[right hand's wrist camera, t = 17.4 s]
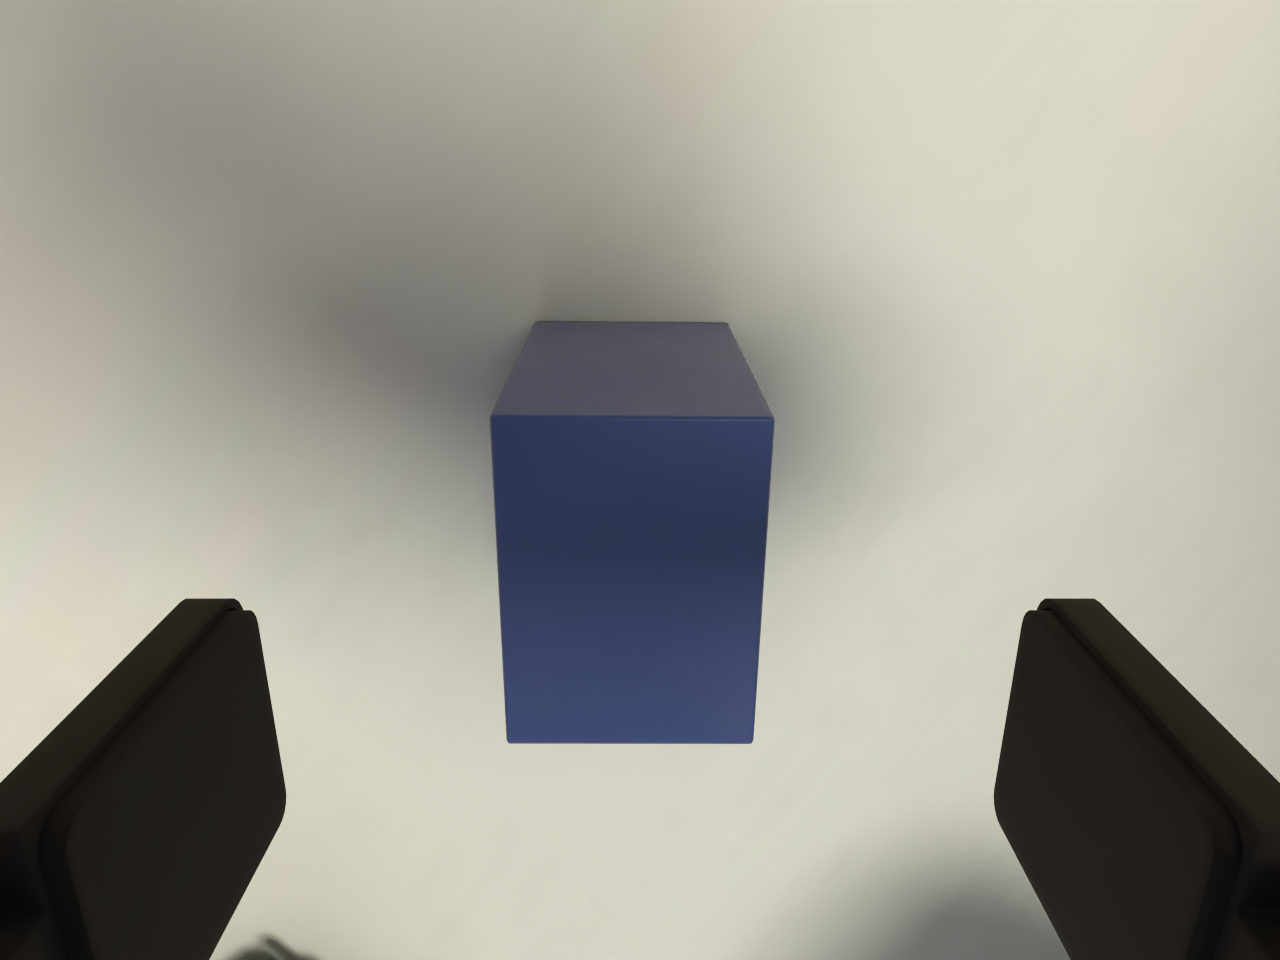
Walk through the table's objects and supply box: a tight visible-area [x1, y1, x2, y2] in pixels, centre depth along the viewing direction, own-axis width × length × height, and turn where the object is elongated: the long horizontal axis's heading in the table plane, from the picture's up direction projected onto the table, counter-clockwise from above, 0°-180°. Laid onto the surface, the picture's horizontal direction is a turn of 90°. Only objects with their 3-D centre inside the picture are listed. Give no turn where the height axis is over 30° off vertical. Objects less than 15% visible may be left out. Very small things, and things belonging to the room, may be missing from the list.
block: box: [490, 321, 775, 744], centre depth 22 cm, size 5×7×9 cm
